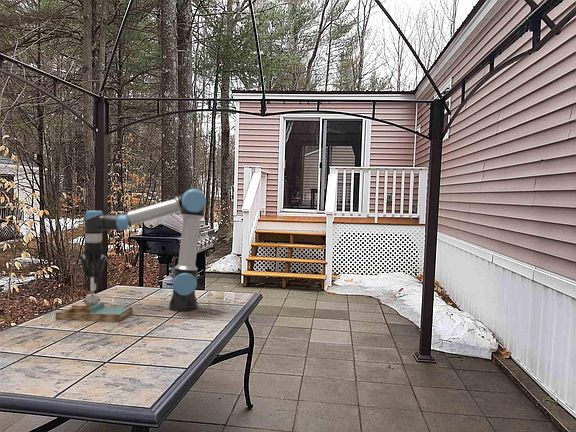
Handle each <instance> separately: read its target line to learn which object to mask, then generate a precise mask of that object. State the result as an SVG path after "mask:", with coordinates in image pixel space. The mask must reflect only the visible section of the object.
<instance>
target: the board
mask: <svg viewBox="0 0 576 432" xmlns="http://www.w3.org/2000/svg"><path fill="white" fill-rule="evenodd" d="M91 307H93V306H86V305H78V304H77V305H76V304H75V305H71V307H69V308H67V309H65V310H63V311H60V312H58V311H57V312H55V320H58V321H59V320H60V321H76V322H77V321H79V322H106V323H107V322H108V323H121V322H123V321H124V320H125V319H127V318H128V317H130V316H132V315H133V307H129V308H130V310H128V311H126V312H125V313H123V314H121V315H110V314H90V311H91ZM116 307H117V308H127V307H125V306H123V307H121V306H116Z"/></svg>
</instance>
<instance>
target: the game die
mask: <svg viewBox="0 0 576 432" xmlns="http://www.w3.org/2000/svg"><path fill="white" fill-rule="evenodd" d="M85 294H86V296H85V298H84V299H83V301H82V303H84V304H85V306H95V305H97V304H99V303H100V301H101V298H100V297H99V296H98V292H97V291H96V293H88V292H86V293H85Z"/></svg>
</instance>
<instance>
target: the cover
mask: <svg viewBox="0 0 576 432" xmlns="http://www.w3.org/2000/svg"><path fill="white" fill-rule="evenodd" d="M117 307H118V306H105V302H104V301H103V302H102V301H101V302H98V304H97V305H95V306H93V307H91V311H90V314H110V315H121V314H123V313H125V312H126V311H128V310H130V308H131V307H126V308H117Z"/></svg>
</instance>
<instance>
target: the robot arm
mask: <svg viewBox="0 0 576 432" xmlns="http://www.w3.org/2000/svg"><path fill="white" fill-rule="evenodd" d="M206 206H207V197H206V194H205V193H204V192H203V191H202V190H200V189H198V188H197V189H196V188H190V189H188V190H186V191H184V193H181V194H179V195H177V196H175V198H172V199H169V200H165V201H161V202H158V203H155V204H150V205H147V206H143V207H140V208H136V209H133V210H130V211H129V210H128V211H125V212H122V213H118V214H103V211H102V210H91V209H90V210H86V212H85V219H84V222H85V226H84V228H85V229H84V230H85V232H84V233H85V235H84V238H85V240H84V241H85V244H84V250H85V252H84V254H83V255H80V256H79V260H80V261H81V265H82V269H83V273H84V276H85V277H88V284H89V285H90V287H89V288H90V290H89V291H92V292H94V291H96V290H97V284H98V283H99V277H100V276H102V275H103V272H104V268H105V265H106V261H107V259H108V256H107V255H104V253H103V242H102V241H103V231H127V230H129V227H131V226H135V225H137V224H141V223H145V222H148V221H153V220H156V219H159V218H163V217H165V216H166V217H167V216H169V215H170V216H171V215H174V214H176V213H179V214H180V215H181V216H182V226H181V236H180V247H179V255H178V264H176V266H174V267H173V280H172V295H171V299H170V301H169V304H168V305H169V306H168V308H169V310H170V311H171V310H172V311H175V312H176V311H177V312H189V311H195V310H197V309H198V306H199V304H198V301H197V298H196V289H197V287H198V280H197V279H198V270H199V268H198V267H197V266H196V262H197V253H198V247H199V246H198V243H199V235H200V229H201V228H200V226H201V220H202V218H204V216H205V209H206ZM194 309H195V310H194Z"/></svg>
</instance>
